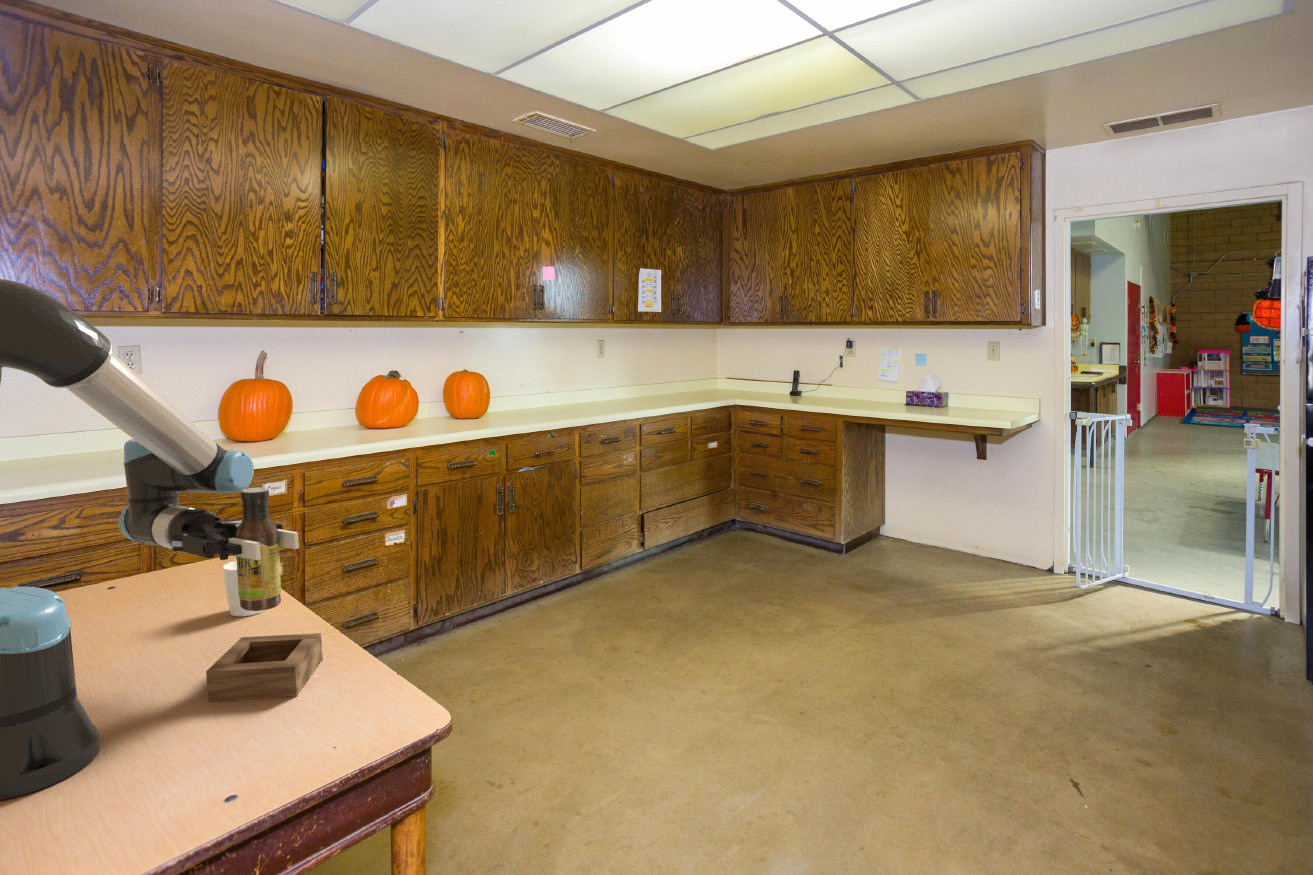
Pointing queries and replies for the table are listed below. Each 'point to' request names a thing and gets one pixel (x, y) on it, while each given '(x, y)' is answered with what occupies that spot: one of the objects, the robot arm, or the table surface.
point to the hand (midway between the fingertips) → (277, 545)
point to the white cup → (234, 591)
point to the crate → (264, 667)
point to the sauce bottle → (263, 575)
